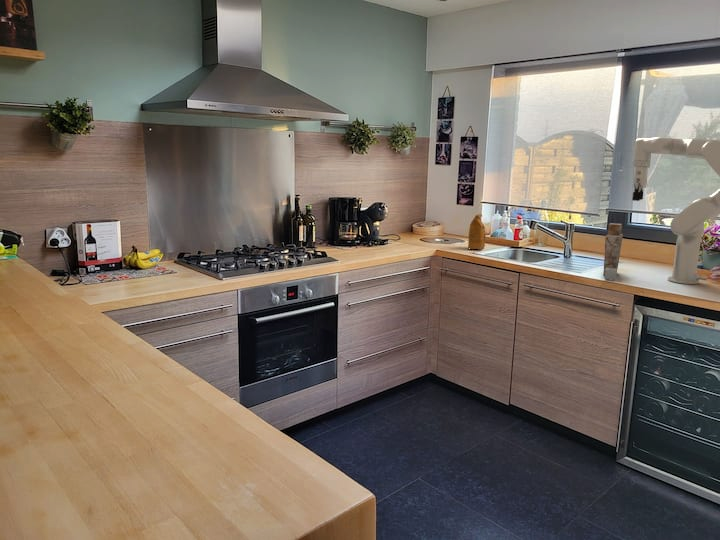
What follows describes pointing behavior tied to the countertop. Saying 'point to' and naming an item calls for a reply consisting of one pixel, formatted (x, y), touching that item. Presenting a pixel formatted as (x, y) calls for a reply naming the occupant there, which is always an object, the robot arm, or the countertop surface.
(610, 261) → the stone block
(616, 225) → the walnut cube
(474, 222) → the coffee package
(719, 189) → the robot arm
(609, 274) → the slate grey cube
